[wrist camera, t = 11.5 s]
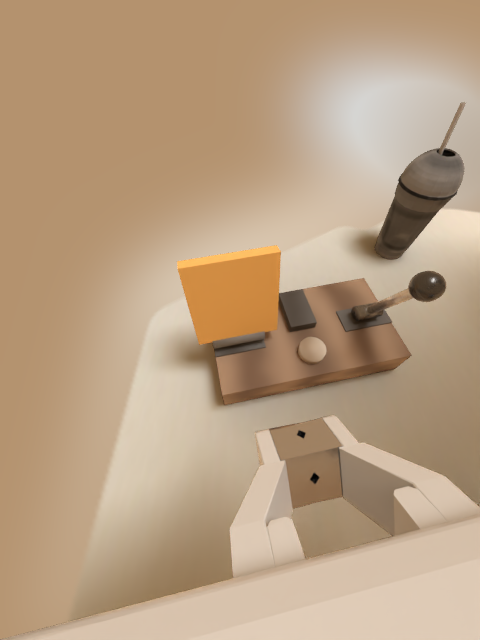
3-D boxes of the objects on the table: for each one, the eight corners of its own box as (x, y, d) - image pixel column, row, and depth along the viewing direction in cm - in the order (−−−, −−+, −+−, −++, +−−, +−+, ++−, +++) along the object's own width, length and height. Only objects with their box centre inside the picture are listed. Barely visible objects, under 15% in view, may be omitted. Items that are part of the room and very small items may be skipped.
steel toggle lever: (371, 301, 32) (450, 263, 21) (377, 321, 32) (461, 293, 21) (349, 305, 32) (416, 269, 21) (354, 325, 32) (427, 300, 20)
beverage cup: (390, 271, 42) (487, 126, 25) (357, 246, 45) (422, 103, 28) (420, 253, 44) (528, 108, 27) (385, 230, 47) (462, 88, 30)
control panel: (353, 295, 39) (367, 272, 35) (394, 368, 33) (417, 350, 28) (210, 322, 37) (206, 300, 33) (224, 405, 31) (221, 392, 26)
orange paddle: (273, 328, 32) (275, 243, 23) (277, 339, 30) (281, 253, 22) (200, 342, 31) (177, 259, 23) (201, 354, 29) (177, 270, 21)
